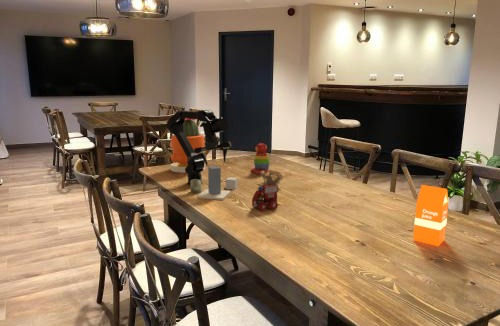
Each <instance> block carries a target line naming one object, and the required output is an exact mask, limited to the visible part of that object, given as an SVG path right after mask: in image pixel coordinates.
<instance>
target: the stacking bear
mask: <svg viewBox="0 0 500 326" xmlns="http://www.w3.org/2000/svg"><path fill="white" fill-rule="evenodd" d="M267 150H268V146H267V144H265V143H261V142H259V143H258V144H257V145H256V146H255V152H256V153H255V155H254V158H253V165H254V167H253V168H251V169H250V172H251V173H255V175H260V173H261V171H264V172H265V173H268V171H269V170H270V169H269V167H270V158H269V154H268V153H267ZM260 176H261V175H260Z"/></svg>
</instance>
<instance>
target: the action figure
mask: <svg viewBox="0 0 500 326" xmlns="http://www.w3.org/2000/svg"><path fill="white" fill-rule="evenodd" d="M268 170H269V171H268V173H265V172H264V171H261V173H260V176H261V177H262V180H263V183H262V184H261V187H264V186H271V185H277V186H279V184H280V183H281V181H282V180H283V179H284V175H283V174H282V173H281V172H280V171H279V170H274V169H268Z"/></svg>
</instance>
